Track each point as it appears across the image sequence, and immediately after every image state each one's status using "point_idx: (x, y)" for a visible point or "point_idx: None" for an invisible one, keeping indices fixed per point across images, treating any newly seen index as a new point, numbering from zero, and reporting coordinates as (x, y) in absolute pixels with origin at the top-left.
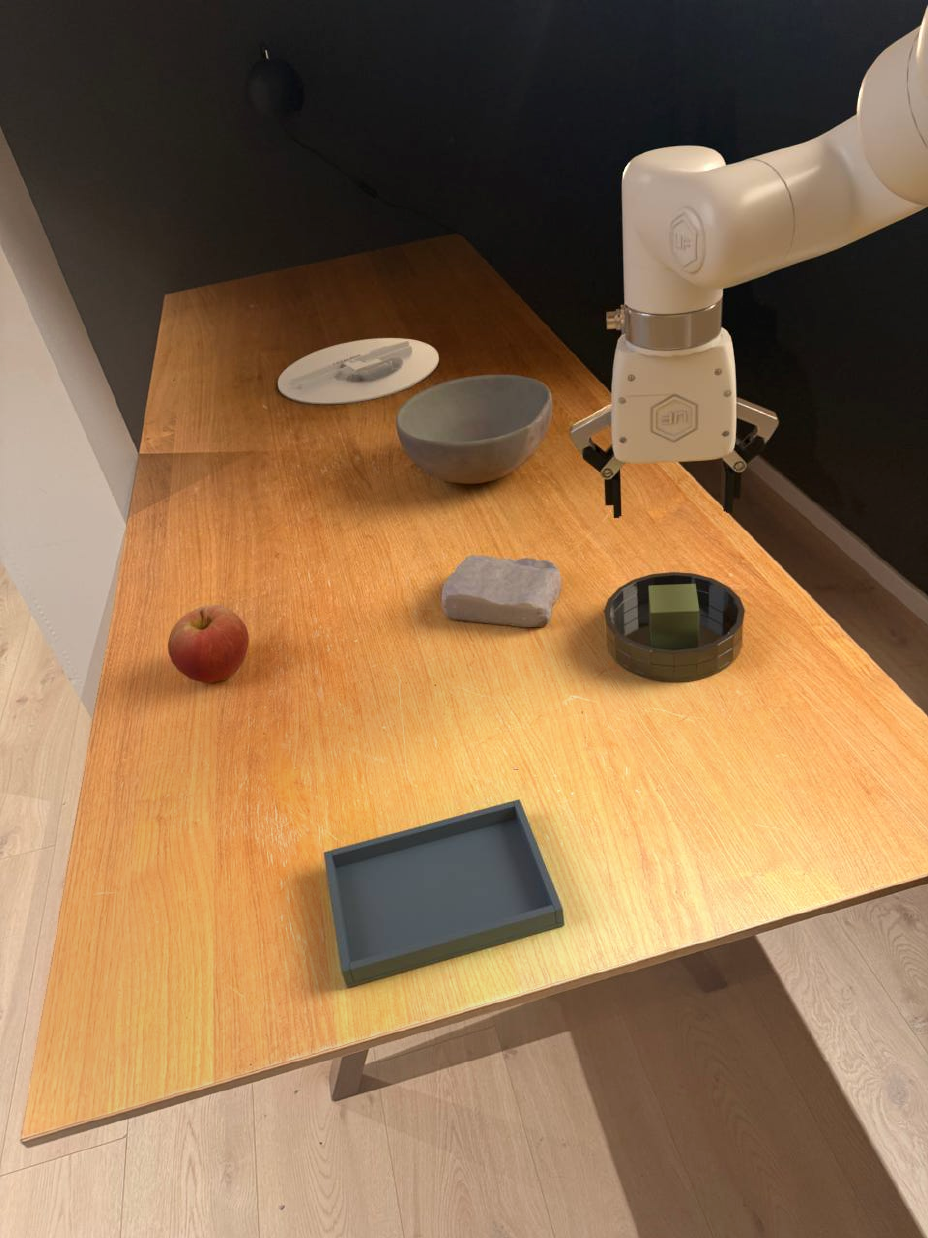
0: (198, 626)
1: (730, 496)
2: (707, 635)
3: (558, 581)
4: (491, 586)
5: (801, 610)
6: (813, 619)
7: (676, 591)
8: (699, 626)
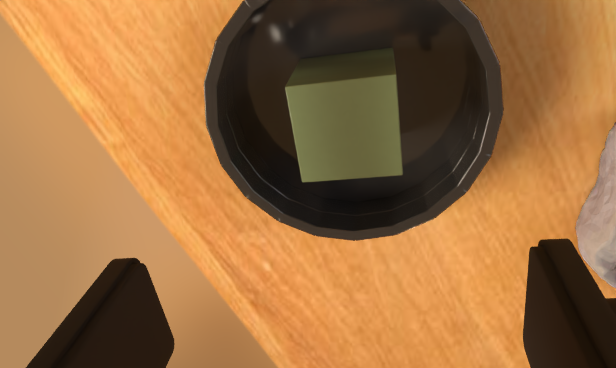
0: None
1: (87, 302)
2: (286, 99)
3: (591, 231)
4: None
5: (146, 181)
6: (124, 159)
7: (339, 154)
8: None
